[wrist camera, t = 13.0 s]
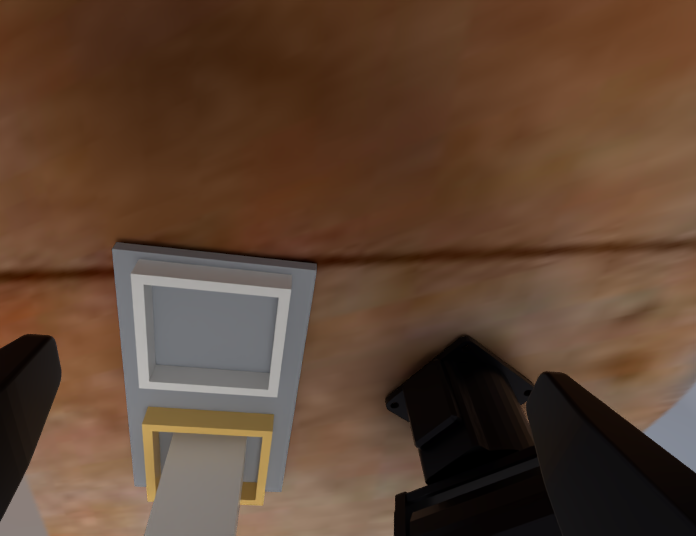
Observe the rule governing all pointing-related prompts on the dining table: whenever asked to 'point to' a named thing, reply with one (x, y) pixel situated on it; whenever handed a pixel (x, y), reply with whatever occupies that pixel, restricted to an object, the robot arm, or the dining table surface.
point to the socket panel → (211, 354)
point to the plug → (199, 486)
